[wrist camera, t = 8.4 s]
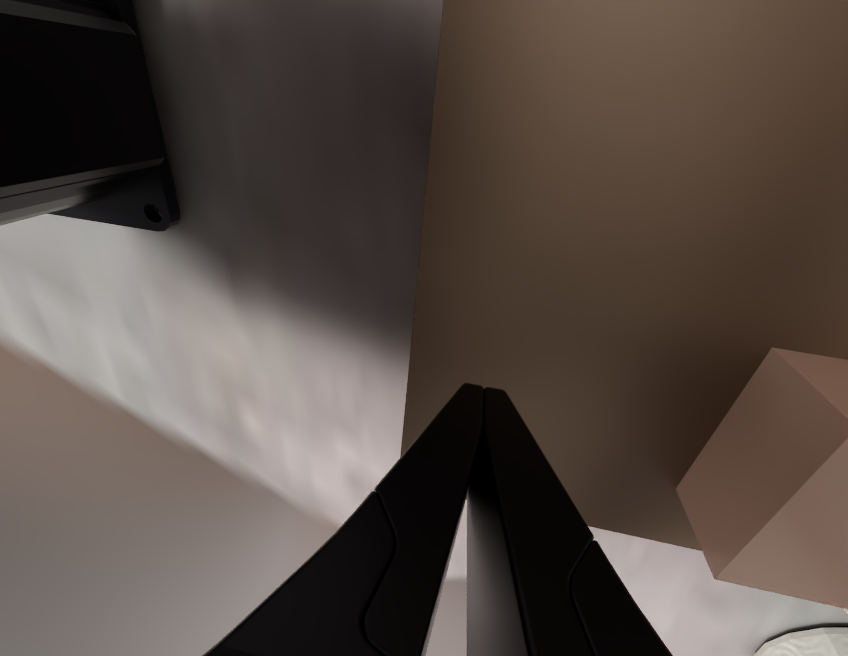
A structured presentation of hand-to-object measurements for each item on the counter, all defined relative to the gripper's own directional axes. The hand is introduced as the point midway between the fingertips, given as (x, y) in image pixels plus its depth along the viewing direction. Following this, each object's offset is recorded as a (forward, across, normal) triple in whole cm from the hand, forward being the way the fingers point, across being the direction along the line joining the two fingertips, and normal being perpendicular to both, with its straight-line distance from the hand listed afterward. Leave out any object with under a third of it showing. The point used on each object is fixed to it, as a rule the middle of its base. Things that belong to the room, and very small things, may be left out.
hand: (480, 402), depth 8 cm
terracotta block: (+1, -7, 0) cm, 7 cm away
